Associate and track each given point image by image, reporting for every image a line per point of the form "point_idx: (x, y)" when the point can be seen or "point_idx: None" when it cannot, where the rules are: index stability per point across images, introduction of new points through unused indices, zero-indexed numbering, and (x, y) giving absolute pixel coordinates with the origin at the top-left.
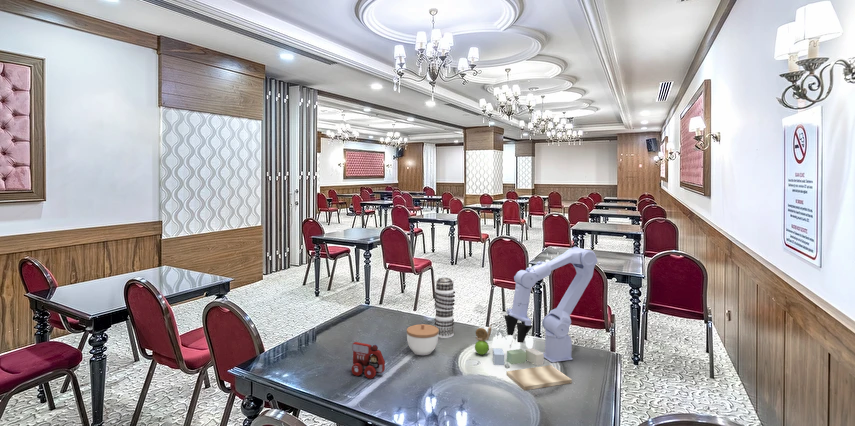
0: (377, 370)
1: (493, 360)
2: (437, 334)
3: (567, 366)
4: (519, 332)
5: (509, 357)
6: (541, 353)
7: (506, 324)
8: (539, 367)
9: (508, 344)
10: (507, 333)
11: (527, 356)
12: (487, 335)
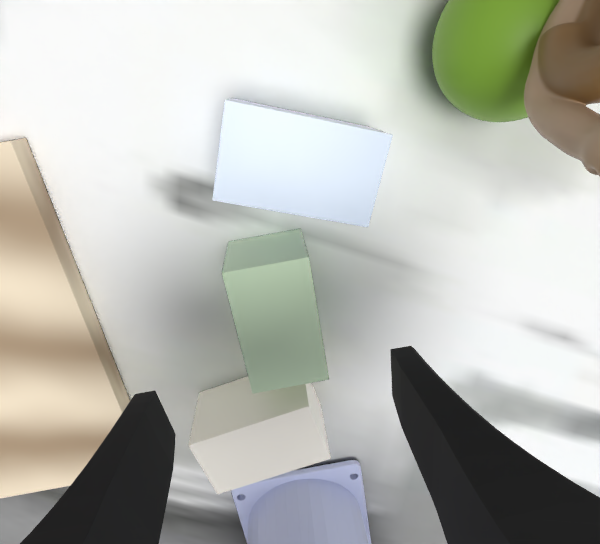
0: None
1: (309, 114)
2: None
3: (178, 533)
4: (43, 521)
5: (260, 249)
6: (221, 482)
7: (492, 432)
8: (106, 401)
9: (581, 329)
10: (406, 355)
11: None
12: (555, 100)
